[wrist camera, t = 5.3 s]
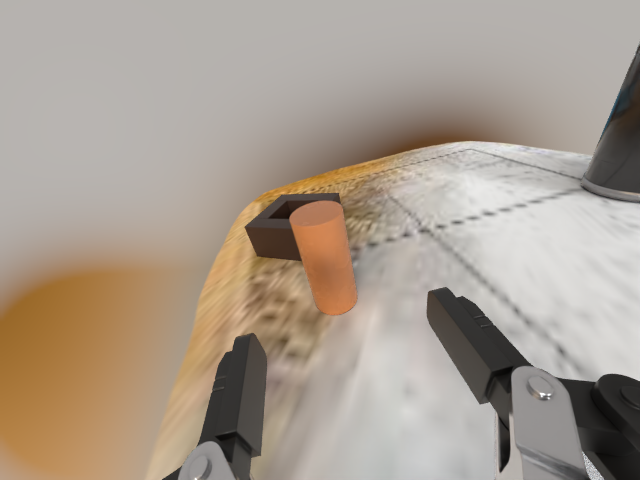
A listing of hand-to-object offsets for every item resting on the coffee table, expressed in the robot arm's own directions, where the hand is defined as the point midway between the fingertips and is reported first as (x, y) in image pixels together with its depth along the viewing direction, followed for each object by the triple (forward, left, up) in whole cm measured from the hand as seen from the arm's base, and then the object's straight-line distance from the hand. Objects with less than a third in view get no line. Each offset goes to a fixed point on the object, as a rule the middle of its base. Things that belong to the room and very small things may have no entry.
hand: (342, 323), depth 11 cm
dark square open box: (-19, -14, -9) cm, 25 cm away
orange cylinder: (-9, -5, -9) cm, 14 cm away
